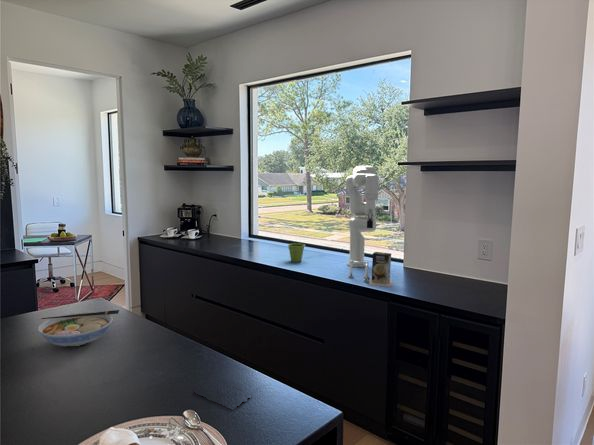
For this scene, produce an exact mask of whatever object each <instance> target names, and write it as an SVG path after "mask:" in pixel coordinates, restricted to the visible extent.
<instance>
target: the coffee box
mask: <svg viewBox="0 0 594 445" xmlns="http://www.w3.org/2000/svg"><path fill="white" fill-rule="evenodd" d="M391 262H392V253H389V252H380V251H375V252H372V262H371V263H372V265H371V267H372V268H371V279H372V281H371V282H376V283H384V284H388V283H389V282H390V280H391V268H392V267H391V265H392V264H391Z"/></svg>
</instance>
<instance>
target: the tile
mask: <svg viewBox="0 0 594 445" xmlns="http://www.w3.org/2000/svg"><path fill="white" fill-rule="evenodd" d="M371 281H372V278H369V283H368V285H369V286H374V287H375V286H376V287H377V286H379V287H389V288H392V287H393V280H392V279H390V282H389V283H388V284H384V283H376V282H371Z"/></svg>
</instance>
